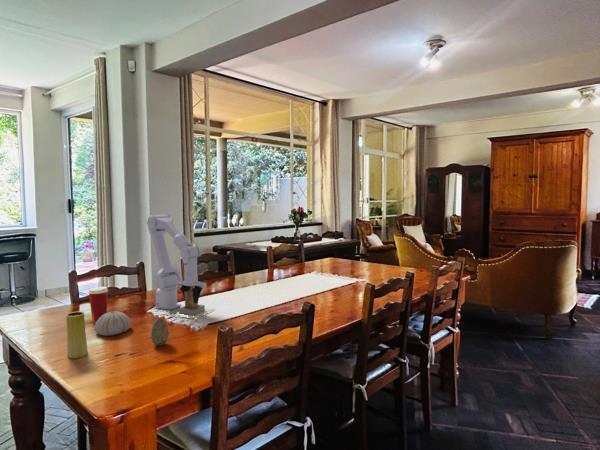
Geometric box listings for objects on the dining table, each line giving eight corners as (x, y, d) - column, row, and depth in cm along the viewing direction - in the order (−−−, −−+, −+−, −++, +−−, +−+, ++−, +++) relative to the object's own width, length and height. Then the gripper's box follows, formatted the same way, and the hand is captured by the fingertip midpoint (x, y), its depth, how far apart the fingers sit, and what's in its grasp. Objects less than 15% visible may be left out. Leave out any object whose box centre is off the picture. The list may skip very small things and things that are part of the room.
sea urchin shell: (96, 340, 151) (95, 319, 151) (92, 330, 163) (91, 310, 162) (134, 333, 158) (133, 313, 158) (128, 324, 170) (127, 305, 169)
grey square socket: (169, 317, 179) (169, 309, 179) (188, 308, 193) (188, 301, 192) (196, 320, 175) (196, 312, 174) (214, 311, 188) (213, 304, 187)
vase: (72, 351, 141) (70, 311, 139) (91, 351, 141) (88, 310, 140) (63, 359, 135) (61, 316, 133) (83, 358, 135) (80, 316, 134)
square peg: (185, 309, 182) (184, 291, 181) (190, 306, 186) (189, 289, 185) (192, 310, 180) (192, 292, 180) (198, 307, 184) (197, 290, 183)
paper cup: (113, 318, 177) (112, 287, 175) (99, 324, 169) (97, 291, 168) (99, 317, 179) (97, 285, 178) (85, 322, 172) (83, 289, 171)
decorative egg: (152, 349, 142) (150, 321, 141) (150, 343, 148) (149, 316, 147) (169, 346, 145) (168, 319, 144) (168, 340, 150) (166, 314, 149)
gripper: (171, 273, 181) (172, 303, 182) (199, 275, 176) (200, 306, 177) (181, 270, 187) (182, 299, 188) (208, 272, 182) (209, 301, 184)
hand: (191, 302), depth 183 cm, fingers closed on square peg, 4 cm apart
